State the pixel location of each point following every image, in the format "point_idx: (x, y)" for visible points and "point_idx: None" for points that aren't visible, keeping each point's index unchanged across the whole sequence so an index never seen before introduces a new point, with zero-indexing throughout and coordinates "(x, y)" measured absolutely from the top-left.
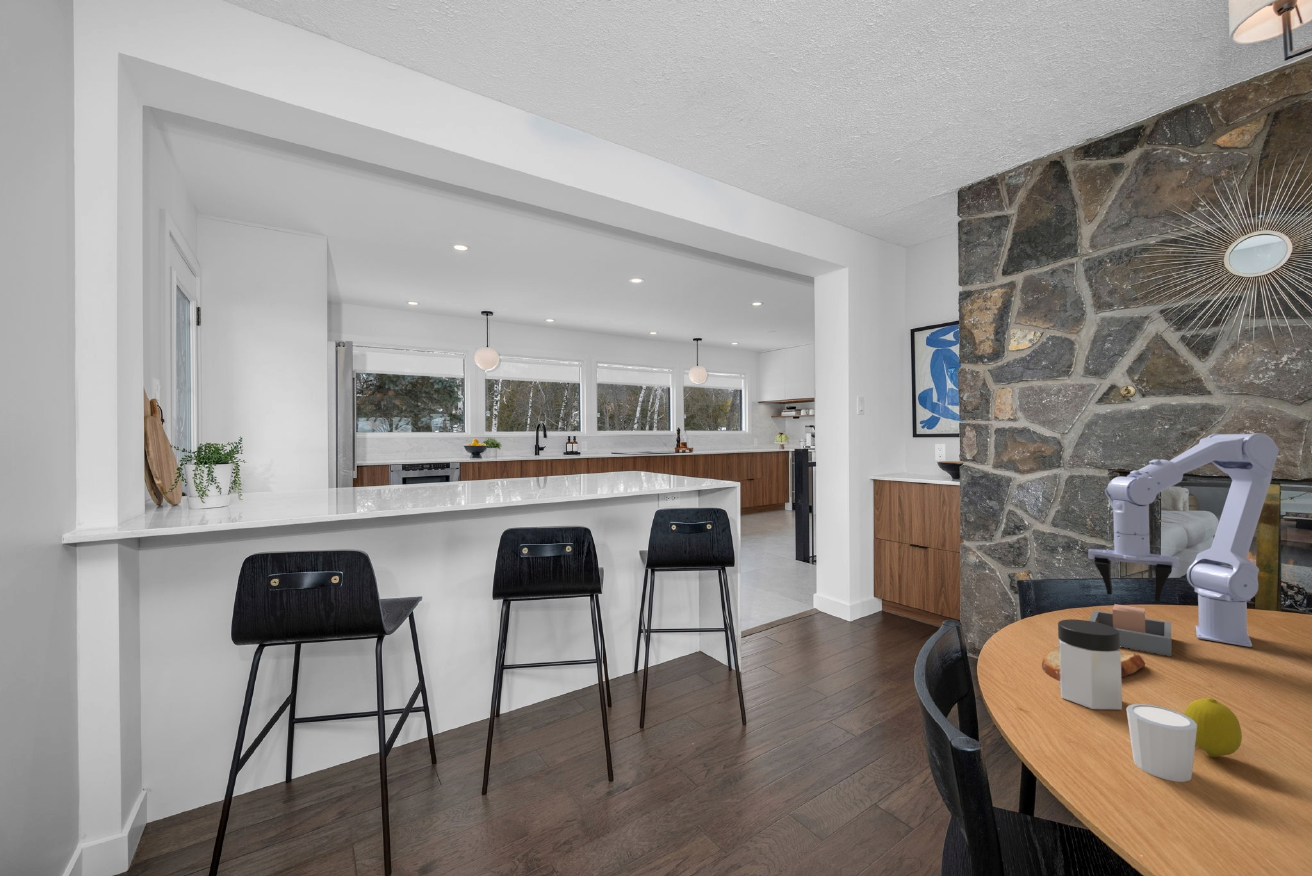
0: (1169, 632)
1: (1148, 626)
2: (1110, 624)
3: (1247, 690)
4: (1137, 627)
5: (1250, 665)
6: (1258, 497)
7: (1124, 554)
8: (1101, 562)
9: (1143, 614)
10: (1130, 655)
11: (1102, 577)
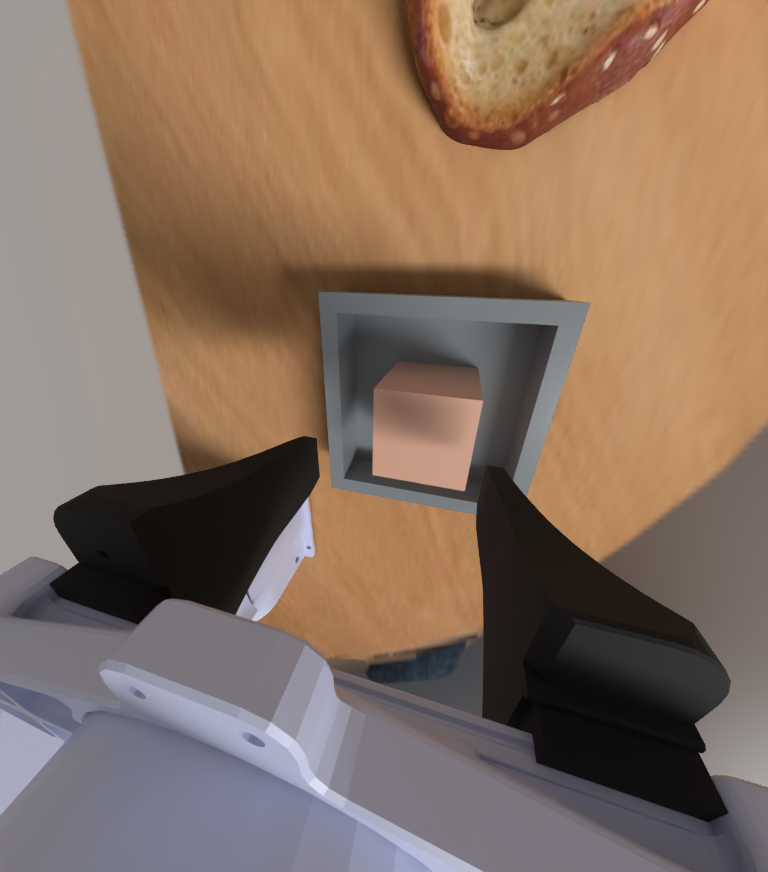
0: (327, 377)
1: None
2: (471, 480)
3: (167, 49)
4: (407, 373)
5: (214, 342)
6: None
7: (308, 813)
8: (617, 690)
9: (376, 388)
10: (453, 40)
11: (557, 529)
